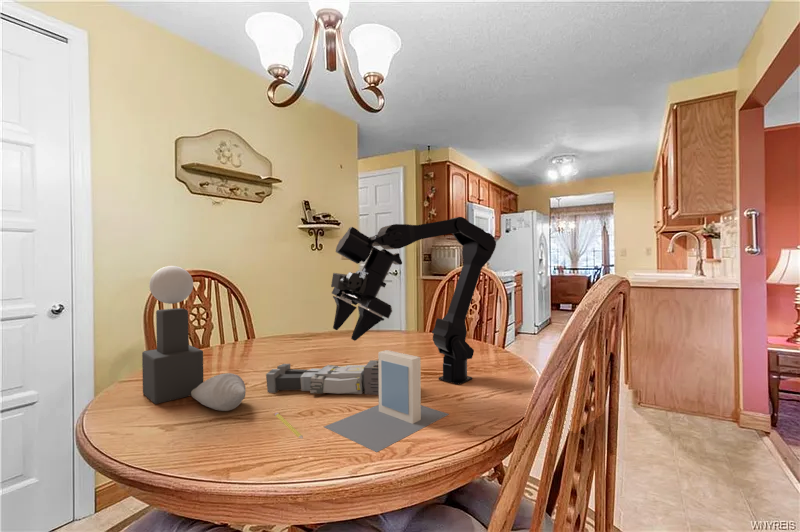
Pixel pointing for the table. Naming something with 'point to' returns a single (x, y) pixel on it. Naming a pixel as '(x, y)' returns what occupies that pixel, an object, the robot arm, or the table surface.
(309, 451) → the table surface
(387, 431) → the mat
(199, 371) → the sculpture
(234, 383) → the seashell
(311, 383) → the toy figure
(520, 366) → the table surface
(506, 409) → the table surface
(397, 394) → the cream rectangular block
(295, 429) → the pencil
